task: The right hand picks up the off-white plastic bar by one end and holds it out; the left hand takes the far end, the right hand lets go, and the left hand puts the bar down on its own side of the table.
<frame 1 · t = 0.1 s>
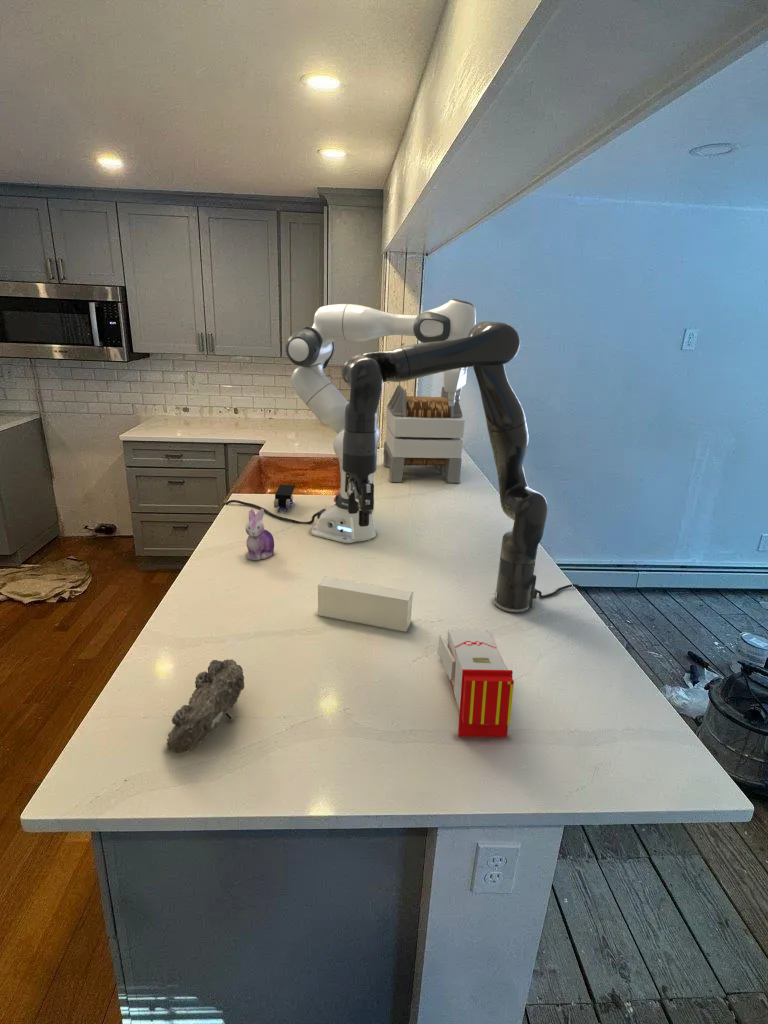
left hand: (453, 403, 174), 48 cm above the counter, tool pointing down, fingers open, 8 cm apart
right hand: (358, 519, 130), 29 cm above the counter, tool pointing down, fingers open, 8 cm apart
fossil: (212, 717, 108), on the counter
figurine: (260, 555, 178), on the counter
toy: (469, 691, 119), on the counter
bar: (364, 618, 145), on the counter
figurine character: (284, 508, 220), on the counter
slatted wooden crate: (419, 473, 275), on the counter
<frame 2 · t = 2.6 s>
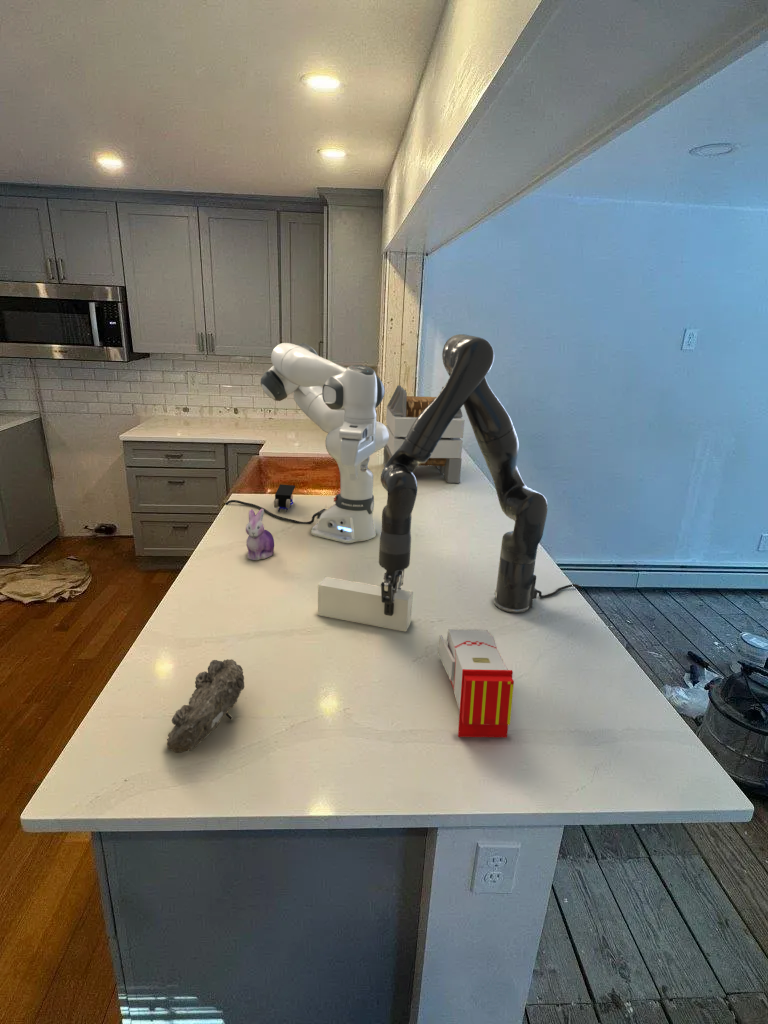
left hand: (358, 475, 160), 30 cm above the counter, tool pointing down, fingers open, 8 cm apart
right hand: (391, 609, 142), 4 cm above the counter, tool pointing down, fingers closed on bar, 5 cm apart
bar: (364, 618, 145), on the counter, touching right hand
everything else where it was.
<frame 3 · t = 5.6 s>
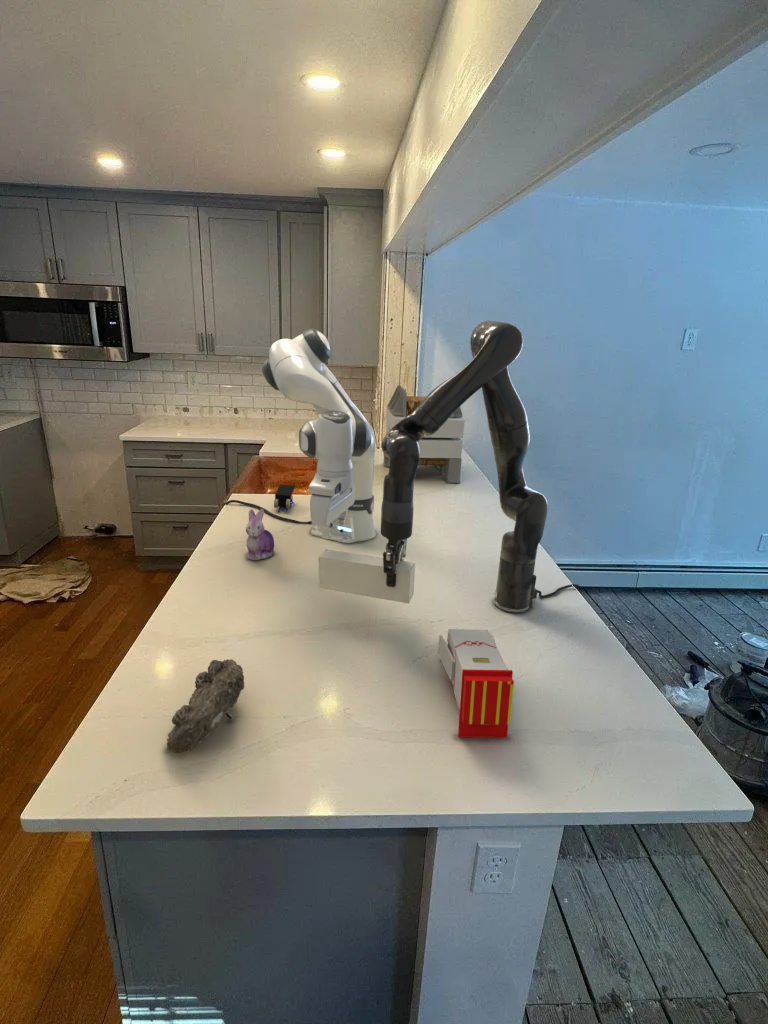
left hand: (334, 531, 143), 21 cm above the counter, tool pointing down, fingers open, 8 cm apart
right hand: (393, 580, 139), 12 cm above the counter, tool pointing down, fingers closed on bar, 5 cm apart
bar: (365, 591, 142), point 8 cm above the counter, touching right hand
everything else where it was.
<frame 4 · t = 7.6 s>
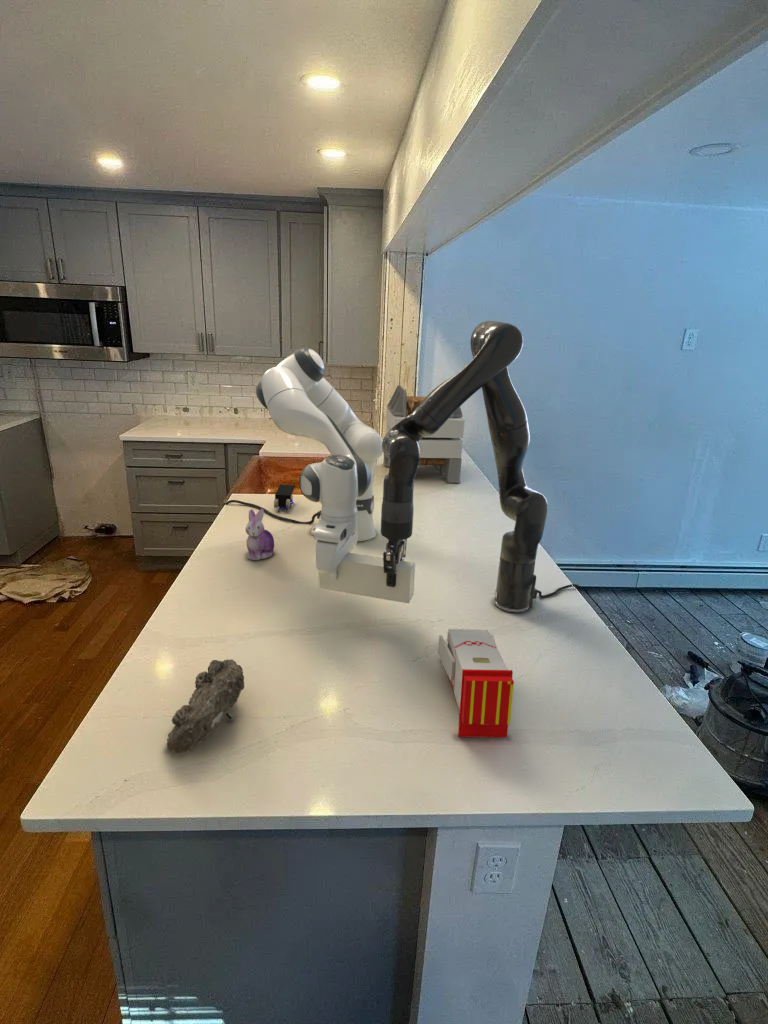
left hand: (338, 574, 143), 11 cm above the counter, tool pointing down, fingers closed on bar, 5 cm apart
right hand: (394, 580, 139), 12 cm above the counter, tool pointing down, fingers closed on bar, 5 cm apart
bar: (365, 591, 142), point 8 cm above the counter, touching left hand, right hand
everything else where it was.
when the right hand's fingers open (12 cm above the counter, at t = 8.5 s): bar stays where it is, held by the left hand.
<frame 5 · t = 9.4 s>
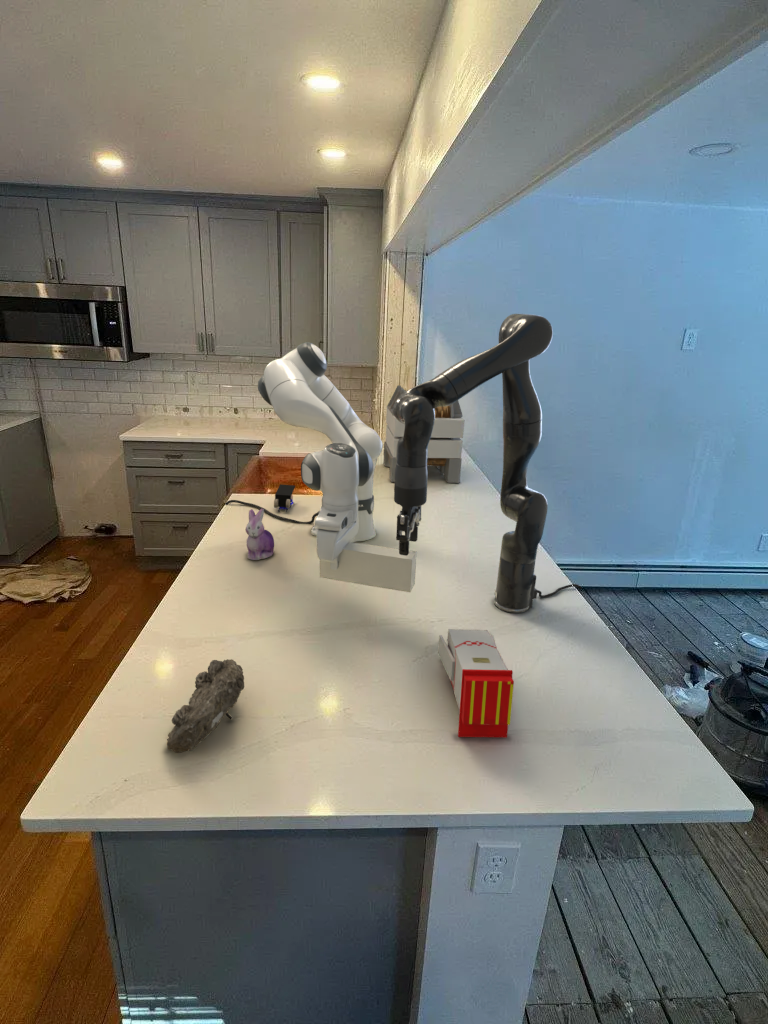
left hand: (339, 563, 142), 14 cm above the counter, tool pointing down, fingers closed on bar, 5 cm apart
right hand: (408, 547, 135), 21 cm above the counter, tool pointing down, fingers open, 8 cm apart
bar: (367, 580, 141), point 11 cm above the counter, touching left hand
everything else where it was.
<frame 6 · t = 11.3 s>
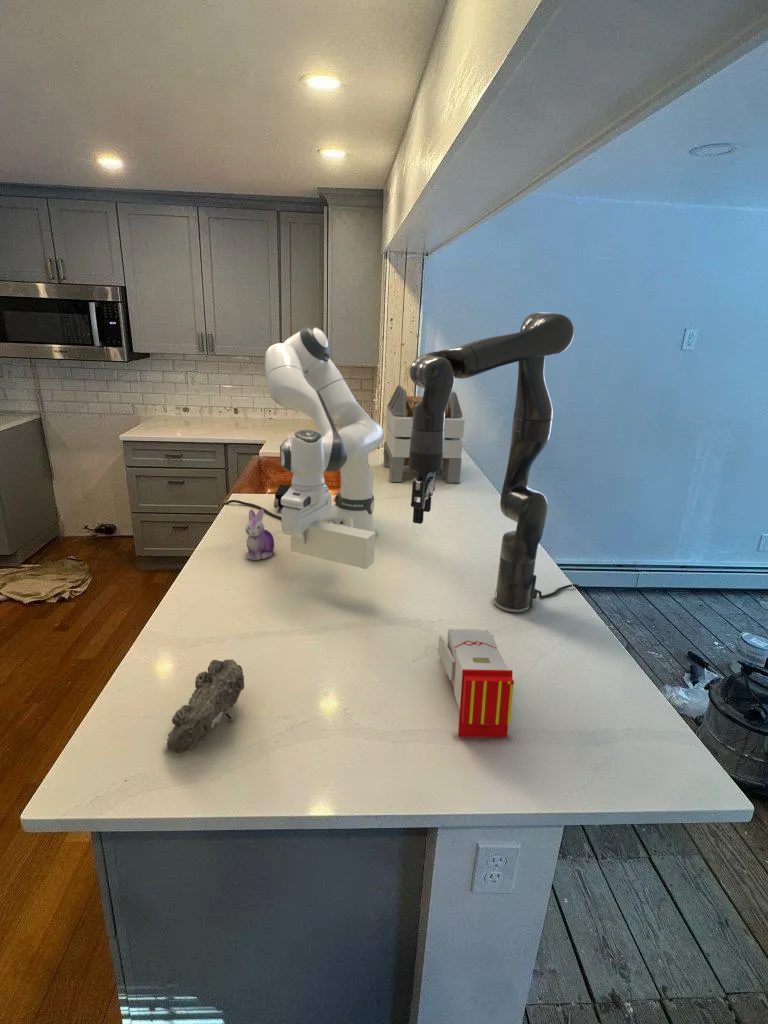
left hand: (308, 540, 156), 14 cm above the counter, tool pointing down, fingers closed on bar, 5 cm apart
right hand: (421, 516, 131), 30 cm above the counter, tool pointing down, fingers open, 8 cm apart
bar: (331, 556, 155), point 10 cm above the counter, touching left hand
everything else where it was.
when the left hand's fingers open (5 cm above the counter, at t = 12.8 s): bar stays where it is, on the counter.
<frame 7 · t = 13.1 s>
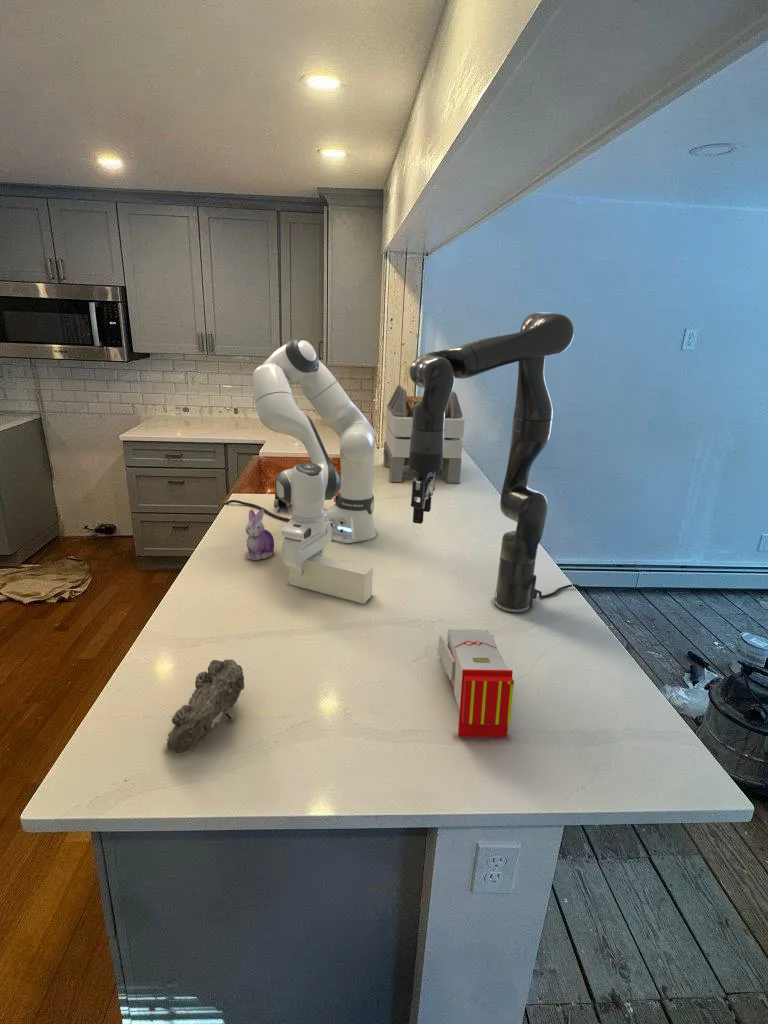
left hand: (308, 568, 159), 5 cm above the counter, tool pointing down, fingers open, 8 cm apart
right hand: (421, 516, 131), 30 cm above the counter, tool pointing down, fingers open, 8 cm apart
bar: (330, 590, 158), on the counter
everything else where it was.
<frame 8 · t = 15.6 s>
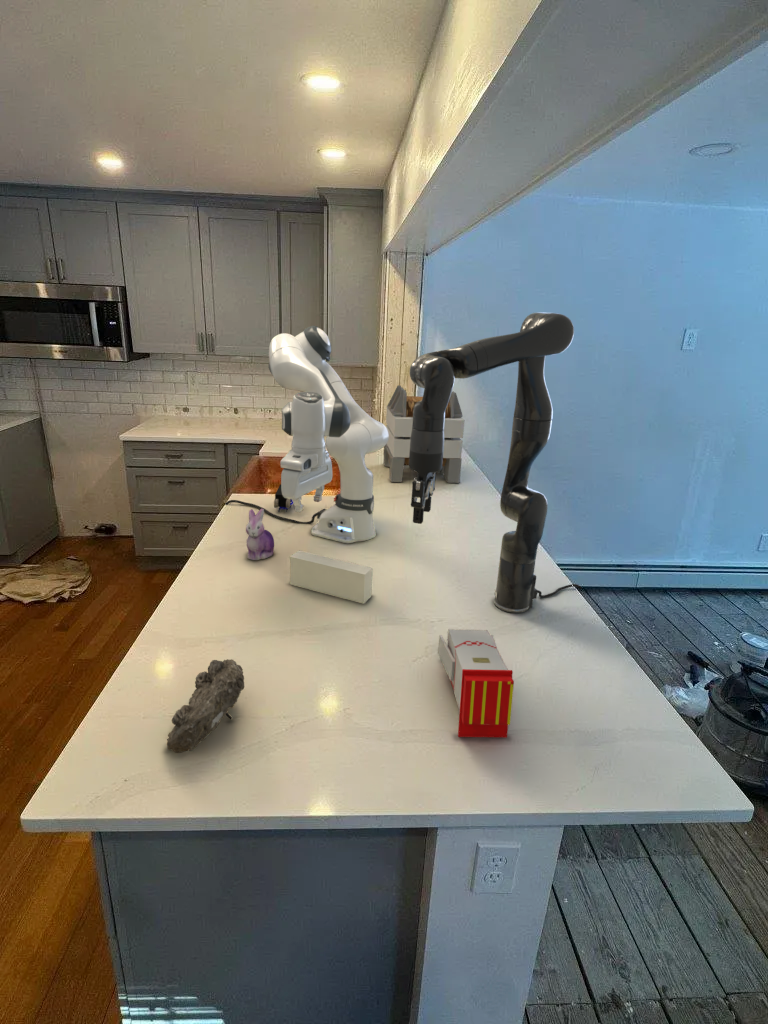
left hand: (308, 506, 153), 24 cm above the counter, tool pointing down, fingers open, 8 cm apart
right hand: (421, 516, 131), 30 cm above the counter, tool pointing down, fingers open, 8 cm apart
nothing on the counter moved.
at the end: bar inside the target area (6.9 cm from its centre), on the counter; the left hand is holding nothing; the right hand is holding nothing; bar at rest at the end (0.0 cm/s) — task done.
